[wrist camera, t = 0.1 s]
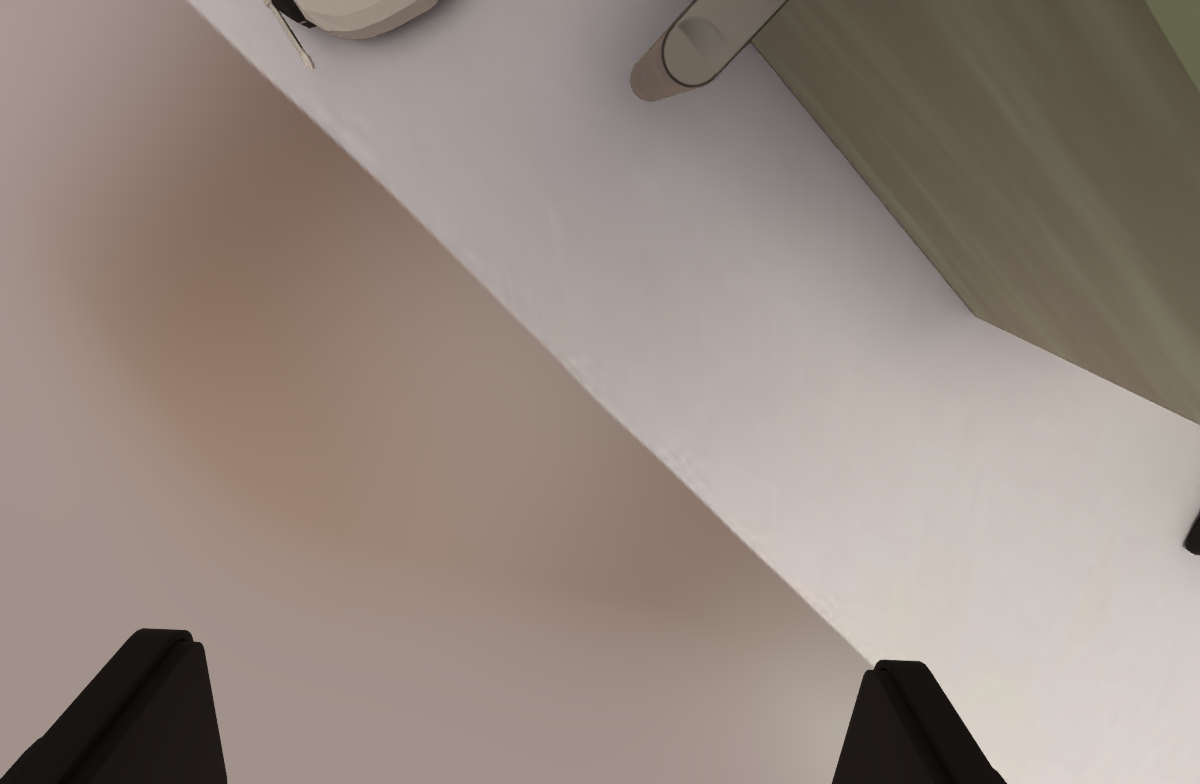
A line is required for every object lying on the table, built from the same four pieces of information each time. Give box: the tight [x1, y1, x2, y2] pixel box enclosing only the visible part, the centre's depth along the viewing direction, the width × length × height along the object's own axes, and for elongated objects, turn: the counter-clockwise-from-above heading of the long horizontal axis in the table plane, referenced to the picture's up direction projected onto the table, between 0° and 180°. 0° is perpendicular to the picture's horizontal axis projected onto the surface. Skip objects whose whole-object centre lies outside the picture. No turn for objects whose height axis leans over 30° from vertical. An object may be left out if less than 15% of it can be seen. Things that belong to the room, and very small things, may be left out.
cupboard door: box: [630, 0, 1200, 425], centre depth 26 cm, size 7×26×24 cm, turn 45°
